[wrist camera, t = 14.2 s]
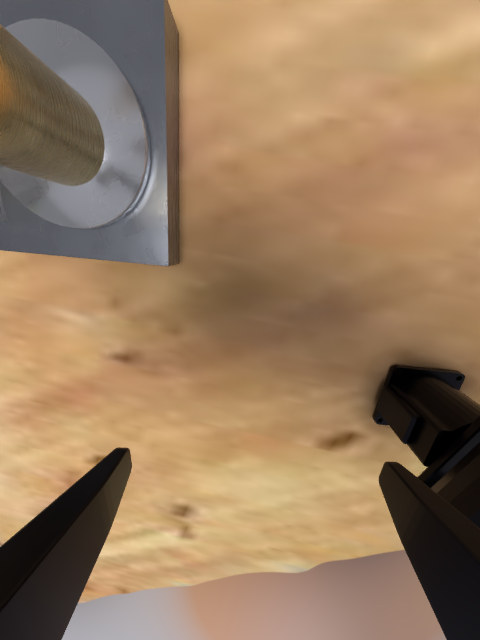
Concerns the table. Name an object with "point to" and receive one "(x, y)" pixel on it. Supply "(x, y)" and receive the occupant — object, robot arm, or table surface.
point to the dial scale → (104, 132)
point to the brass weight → (44, 120)
